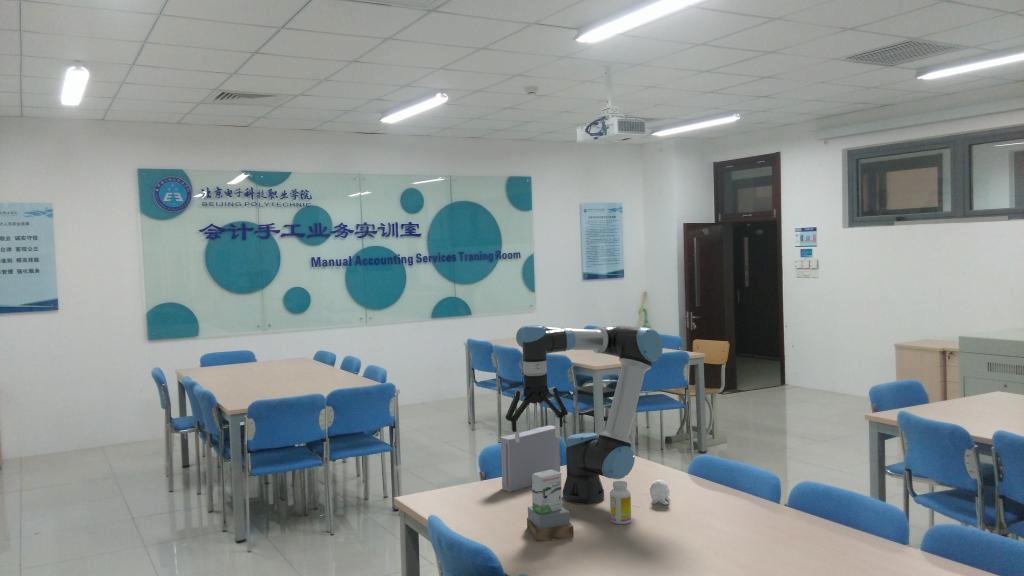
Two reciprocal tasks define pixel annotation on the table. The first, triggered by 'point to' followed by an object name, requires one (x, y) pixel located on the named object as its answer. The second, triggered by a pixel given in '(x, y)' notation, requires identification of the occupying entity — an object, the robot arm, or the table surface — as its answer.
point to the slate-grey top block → (549, 518)
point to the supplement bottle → (620, 503)
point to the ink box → (546, 491)
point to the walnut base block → (550, 532)
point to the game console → (528, 456)
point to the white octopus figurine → (659, 492)
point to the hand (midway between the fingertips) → (537, 439)
